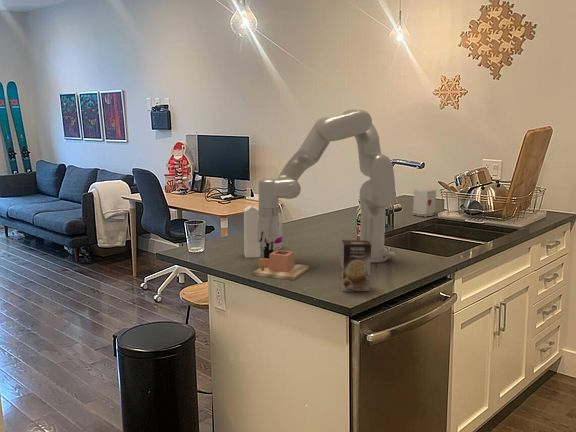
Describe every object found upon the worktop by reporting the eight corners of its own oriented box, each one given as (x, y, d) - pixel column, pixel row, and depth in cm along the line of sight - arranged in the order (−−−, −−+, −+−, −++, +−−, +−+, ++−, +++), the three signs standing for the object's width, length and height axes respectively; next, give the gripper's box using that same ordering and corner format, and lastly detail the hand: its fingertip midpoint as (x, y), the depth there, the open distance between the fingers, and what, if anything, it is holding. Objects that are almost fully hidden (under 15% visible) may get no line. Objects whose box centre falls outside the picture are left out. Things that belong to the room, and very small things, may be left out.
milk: (258, 253, 237) (258, 200, 233) (260, 257, 231) (260, 203, 227) (243, 254, 236) (243, 201, 232) (245, 257, 230) (245, 203, 226)
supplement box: (425, 218, 315) (427, 190, 312) (412, 215, 321) (413, 189, 319) (435, 216, 321) (436, 189, 318) (421, 213, 327) (423, 187, 325)
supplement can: (279, 251, 241) (280, 216, 238) (260, 250, 242) (260, 215, 240) (284, 246, 249) (284, 212, 246) (265, 245, 250) (265, 211, 247)
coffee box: (342, 292, 189) (343, 244, 186) (339, 286, 195) (340, 239, 192) (370, 291, 189) (371, 244, 186) (366, 285, 195) (368, 239, 192)
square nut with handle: (294, 267, 213) (294, 251, 212) (287, 272, 206) (287, 255, 205) (263, 263, 217) (263, 248, 216) (255, 268, 211) (255, 252, 210)
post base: (309, 268, 215) (309, 255, 214) (294, 280, 201) (294, 266, 200) (270, 264, 221) (270, 251, 220) (252, 275, 207) (252, 261, 206)
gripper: (267, 207, 224) (267, 253, 227) (251, 214, 210) (251, 263, 213) (285, 209, 221) (285, 255, 224) (269, 215, 207) (269, 265, 211)
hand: (268, 259), depth 219 cm, fingers closed
